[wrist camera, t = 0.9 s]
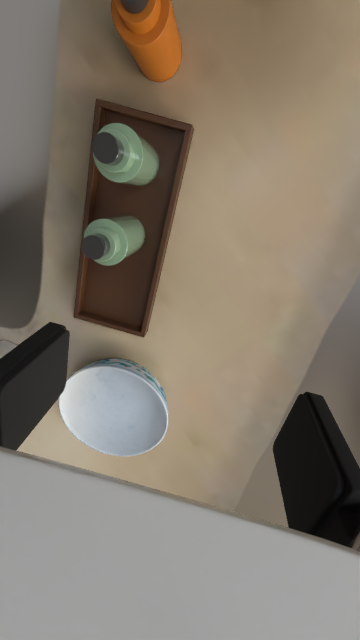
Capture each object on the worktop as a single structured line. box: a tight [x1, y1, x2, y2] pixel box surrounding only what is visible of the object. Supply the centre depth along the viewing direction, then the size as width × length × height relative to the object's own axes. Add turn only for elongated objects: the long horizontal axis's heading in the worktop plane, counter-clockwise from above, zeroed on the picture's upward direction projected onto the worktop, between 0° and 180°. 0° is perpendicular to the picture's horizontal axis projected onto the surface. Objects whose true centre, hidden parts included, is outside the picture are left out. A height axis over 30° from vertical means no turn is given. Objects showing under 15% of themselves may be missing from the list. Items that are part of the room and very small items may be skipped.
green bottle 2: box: [82, 215, 145, 266], centre depth 30 cm, size 5×5×10 cm
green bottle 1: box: [92, 123, 159, 186], centre depth 27 cm, size 5×5×10 cm
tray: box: [74, 99, 194, 337], centre depth 35 cm, size 25×10×2 cm, turn 166°
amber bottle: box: [111, 0, 182, 82], centre depth 23 cm, size 5×5×10 cm
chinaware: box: [58, 359, 168, 456], centre depth 41 cm, size 15×15×8 cm
